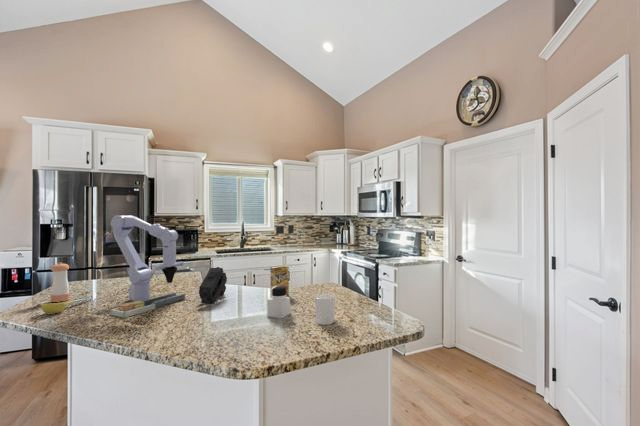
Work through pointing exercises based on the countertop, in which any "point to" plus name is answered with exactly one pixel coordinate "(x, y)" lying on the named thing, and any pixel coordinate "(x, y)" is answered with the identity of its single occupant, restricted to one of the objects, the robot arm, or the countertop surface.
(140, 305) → the brass block
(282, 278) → the candy box
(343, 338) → the countertop surface
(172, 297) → the rail
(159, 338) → the countertop surface
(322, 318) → the white cup
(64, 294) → the pepper shaker
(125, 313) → the tray
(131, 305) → the copper block
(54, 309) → the ladle
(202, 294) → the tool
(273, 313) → the medicine bottle
